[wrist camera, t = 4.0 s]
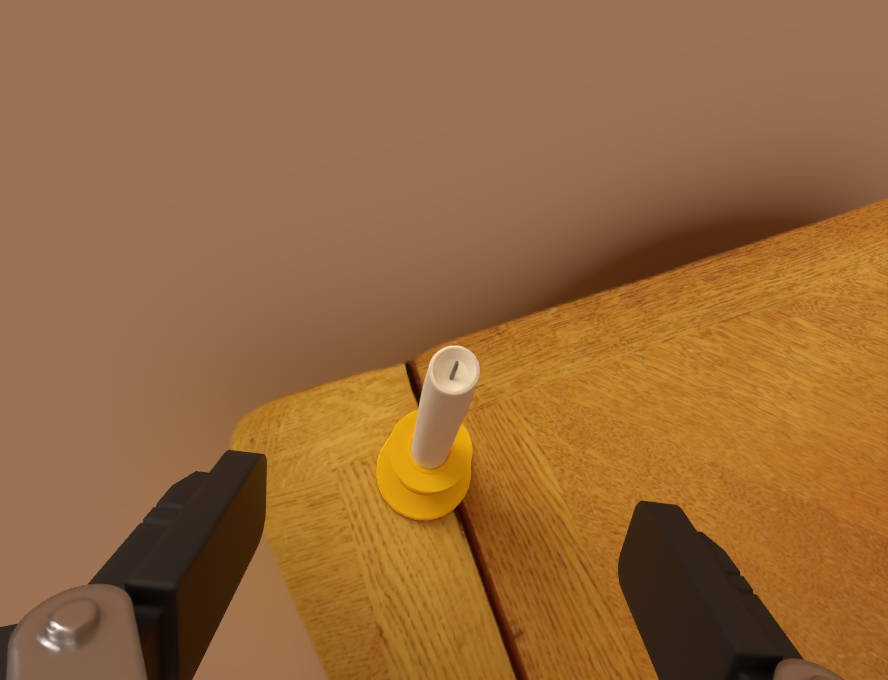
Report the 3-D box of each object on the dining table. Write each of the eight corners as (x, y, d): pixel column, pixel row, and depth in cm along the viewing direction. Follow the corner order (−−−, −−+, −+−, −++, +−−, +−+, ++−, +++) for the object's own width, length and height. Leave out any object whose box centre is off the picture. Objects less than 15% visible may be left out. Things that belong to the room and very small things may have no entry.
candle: (433, 542, 26) (482, 499, 12) (356, 480, 27) (319, 375, 13) (488, 462, 28) (584, 347, 14) (415, 407, 29) (437, 249, 15)
